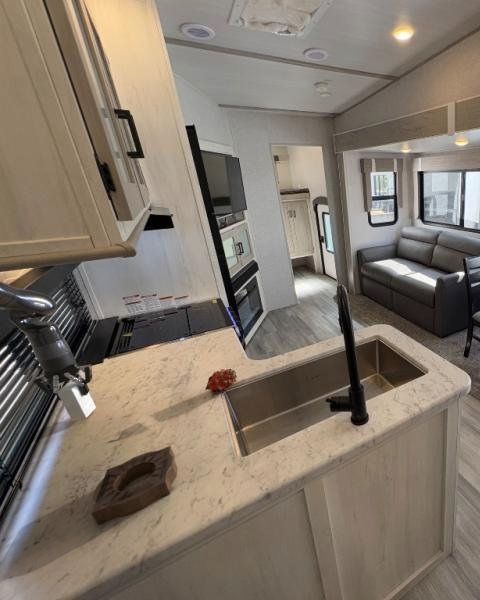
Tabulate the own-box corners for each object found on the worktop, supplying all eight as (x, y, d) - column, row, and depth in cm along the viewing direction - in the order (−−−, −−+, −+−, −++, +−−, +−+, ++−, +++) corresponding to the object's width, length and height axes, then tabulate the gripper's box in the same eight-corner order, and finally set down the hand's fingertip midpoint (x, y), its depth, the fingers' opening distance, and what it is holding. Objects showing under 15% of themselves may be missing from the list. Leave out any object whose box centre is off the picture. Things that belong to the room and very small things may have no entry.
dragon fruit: (242, 383, 125) (213, 403, 116) (229, 369, 126) (199, 388, 118) (242, 374, 119) (211, 394, 110) (228, 359, 120) (197, 378, 112)
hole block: (91, 531, 70) (83, 519, 69) (108, 479, 83) (103, 468, 82) (174, 494, 77) (169, 483, 76) (179, 452, 90) (174, 442, 89)
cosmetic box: (82, 410, 110) (68, 382, 106) (96, 407, 112) (83, 379, 108) (71, 421, 105) (56, 392, 101) (86, 418, 106) (72, 389, 102)
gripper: (86, 343, 107) (105, 384, 112) (28, 355, 100) (51, 399, 105) (79, 351, 100) (99, 395, 106) (16, 365, 94) (41, 411, 99)
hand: (75, 397), depth 106 cm, fingers closed on cosmetic box, 4 cm apart
